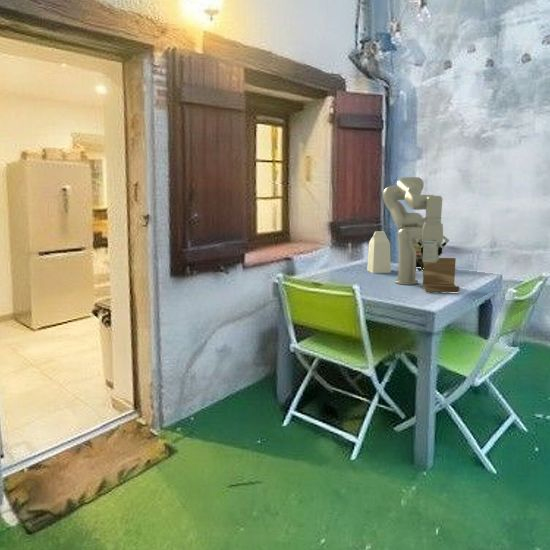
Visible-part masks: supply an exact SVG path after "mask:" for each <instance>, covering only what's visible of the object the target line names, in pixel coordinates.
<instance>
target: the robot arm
mask: <svg viewBox="0 0 550 550" xmlns="http://www.w3.org/2000/svg"><path fill="white" fill-rule="evenodd" d="M424 186H425V183H424V181H423V179H422V178H420V176H419V177H418V176H410V177H409V176H405V177H401V178H399V179H398V180H397V182H396V184H395V185H389V186H386V187H385V189H383V192H382V193H383V195H382V196H383V197H382V198H383V202H384V205H385V207H386V208H387V209H388V211H389V212H390V215H391V218H392V220H393V222H394V224H395V227H396V228H397V229H398V232H397V241H398V267H397V269H398V271H397V275H398V276H397V279H395V280H394V281H395V284H399V285H406V286H409V285H412V286H413V285H417V284H419V281H418V280H417V279H416V275H417V274H416V273H417V271H416V250H415V248H414V247H413V244H418V245H419V246H420V247H421V253H422V255H423V244H424V241H438V243H439V245H440V247H439V257H440V256H441V255H442V254H443V248H444V247H445V246H446V245H447V244H448V243H449V242H450V239H449V238H447V237H446V236H445V235H444V225H443V223H442V212H443V211H442V210H443V209H442V207H443V196H441V195H434V194H422V191H423V189H424ZM400 201H404V202H405V205H406V206H408V207H409V208H410V209H412V210H415V211H417V210H418V211H419V210H425V217H423V216H422V214H420V213H419V212H407V210H406V207H405V205H404V204H402V202H400ZM443 241H444V242H443Z"/></svg>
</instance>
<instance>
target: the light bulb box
mask: <svg viewBox="0 0 550 550" xmlns="http://www.w3.org/2000/svg"><path fill="white" fill-rule="evenodd" d="M439 247H440V245H439V243H438V241H424V244H423V262H434V263H436V261H437V260H438V259H439V258H440V256H439Z"/></svg>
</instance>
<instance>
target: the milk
mask: <svg viewBox="0 0 550 550" xmlns="http://www.w3.org/2000/svg"><path fill="white" fill-rule="evenodd" d="M391 263H392V262H391V242H390V240H389V239H388V237H387V234H386V231H383V230H381V231H374V233H373V235H372V237H371V238H370V240H369V241H368V253H367V267H366V270H367V271H368V272H370V273H372V274H384V273H385V274H388V273H389V274H390V273H392V265H391Z"/></svg>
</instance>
